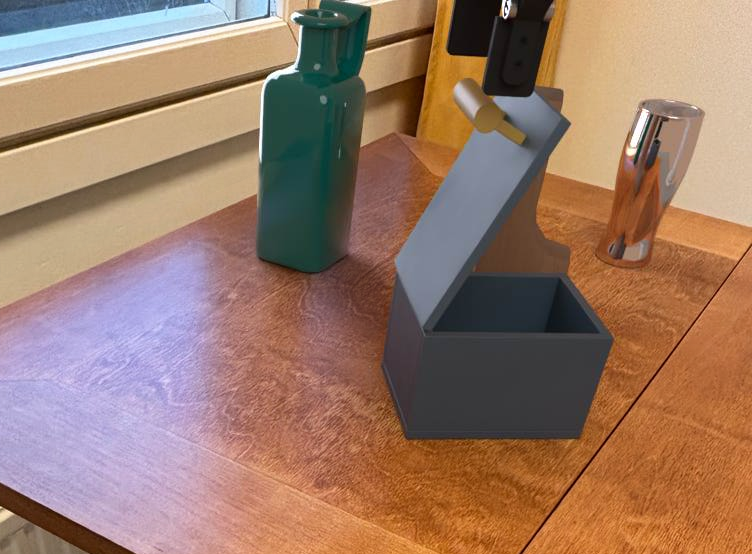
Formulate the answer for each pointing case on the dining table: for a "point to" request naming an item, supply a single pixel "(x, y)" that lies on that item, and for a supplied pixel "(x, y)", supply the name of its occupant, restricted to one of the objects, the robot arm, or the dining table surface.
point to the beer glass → (648, 178)
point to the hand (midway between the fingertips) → (485, 74)
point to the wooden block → (527, 229)
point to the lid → (476, 193)
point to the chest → (497, 360)
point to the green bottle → (313, 140)
